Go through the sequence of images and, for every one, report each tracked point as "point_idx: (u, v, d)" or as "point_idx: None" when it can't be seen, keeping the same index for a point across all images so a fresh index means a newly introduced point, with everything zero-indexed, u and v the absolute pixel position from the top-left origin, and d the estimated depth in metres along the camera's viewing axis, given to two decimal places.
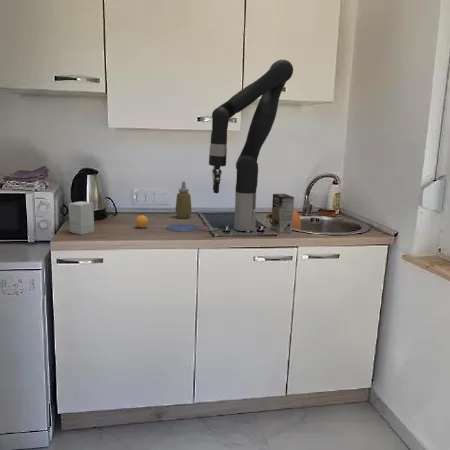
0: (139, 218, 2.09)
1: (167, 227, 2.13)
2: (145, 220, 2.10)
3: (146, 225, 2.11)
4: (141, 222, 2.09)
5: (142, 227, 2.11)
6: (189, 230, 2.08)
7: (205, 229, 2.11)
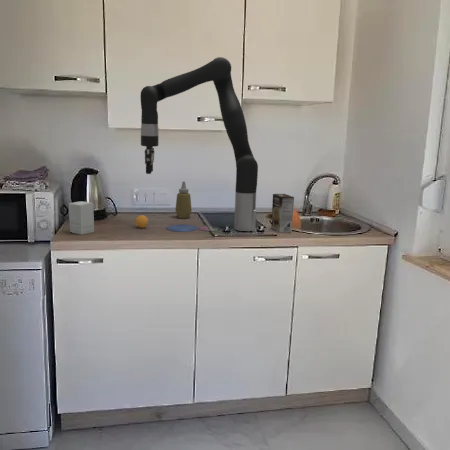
0: (139, 218, 2.09)
1: (167, 227, 2.13)
2: (145, 220, 2.10)
3: (146, 225, 2.11)
4: (141, 222, 2.09)
5: (142, 227, 2.11)
6: (189, 230, 2.08)
7: (205, 229, 2.11)
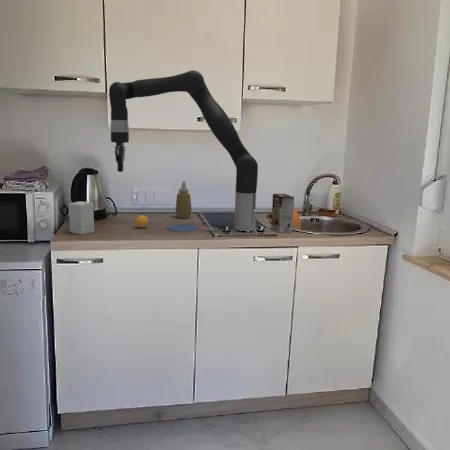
0: (139, 218, 2.09)
1: (167, 227, 2.13)
2: (145, 220, 2.10)
3: (146, 225, 2.11)
4: (141, 222, 2.09)
5: (142, 227, 2.11)
6: (189, 230, 2.08)
7: (205, 229, 2.11)
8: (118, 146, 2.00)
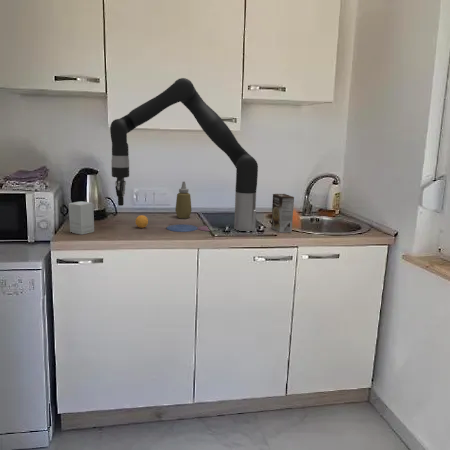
0: (139, 218, 2.09)
1: (167, 227, 2.13)
2: (145, 220, 2.10)
3: (146, 225, 2.11)
4: (141, 222, 2.09)
5: (142, 227, 2.11)
6: (189, 230, 2.08)
7: (205, 229, 2.11)
8: (119, 181, 2.03)
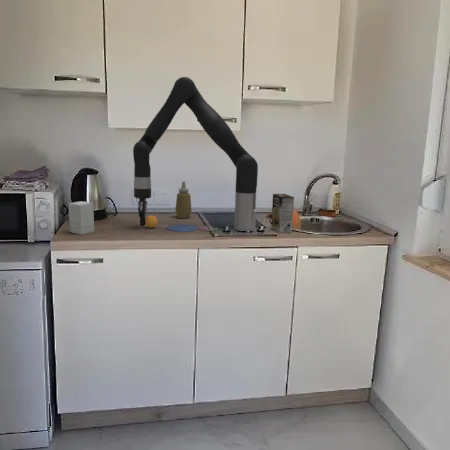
0: (154, 219, 2.10)
1: (167, 227, 2.13)
2: (154, 225, 2.11)
3: (149, 227, 2.12)
4: (151, 223, 2.09)
5: (146, 224, 2.11)
6: (189, 230, 2.08)
7: (205, 229, 2.11)
8: (141, 202, 2.06)
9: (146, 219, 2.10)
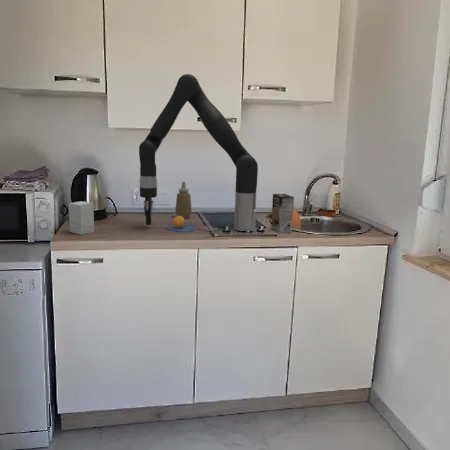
0: (174, 220, 2.11)
1: (167, 227, 2.13)
2: (180, 218, 2.11)
3: (184, 222, 2.12)
4: (179, 222, 2.10)
5: None
6: (189, 230, 2.08)
7: (205, 229, 2.11)
8: (147, 201, 2.06)
9: (177, 227, 2.12)
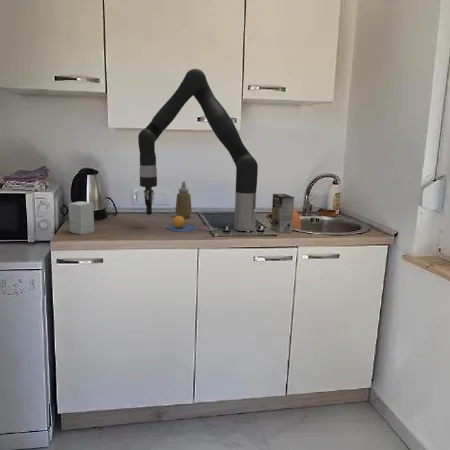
0: (174, 220, 2.11)
1: (167, 227, 2.13)
2: (180, 218, 2.11)
3: (184, 222, 2.12)
4: (179, 222, 2.10)
5: None
6: (189, 230, 2.08)
7: (205, 229, 2.11)
8: (147, 191, 2.05)
9: (177, 227, 2.12)
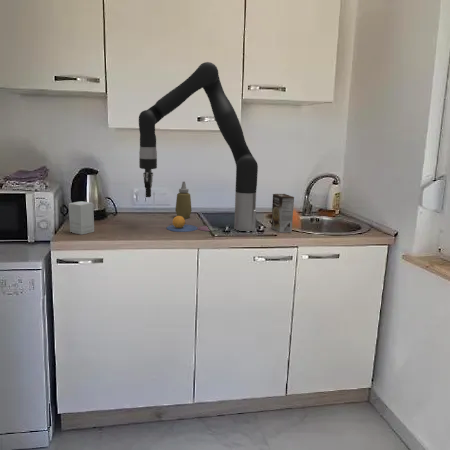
0: (174, 220, 2.11)
1: (167, 227, 2.13)
2: (180, 218, 2.11)
3: (184, 222, 2.12)
4: (179, 222, 2.10)
5: None
6: (189, 230, 2.08)
7: (205, 229, 2.11)
8: (147, 173, 2.03)
9: (177, 227, 2.12)
